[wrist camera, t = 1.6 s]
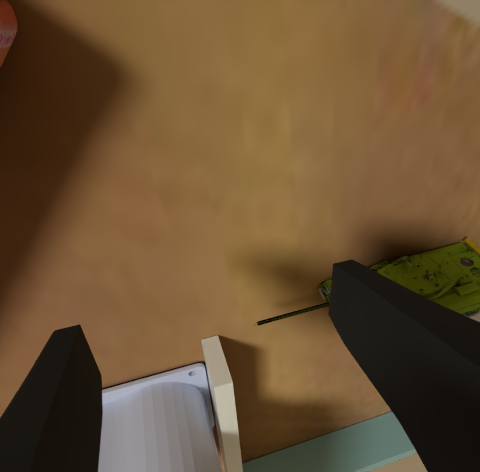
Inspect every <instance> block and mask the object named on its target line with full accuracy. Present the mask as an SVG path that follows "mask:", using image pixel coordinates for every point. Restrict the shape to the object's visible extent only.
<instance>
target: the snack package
mask: <svg viewBox="0 0 480 472" xmlns="http://www.w3.org/2000/svg"><path fill="white" fill-rule="evenodd" d="M17 27H18V24H17V19H16V16H15V13H14V11H13V8H12V6H11V5H10V3H9V2H8V1H7V0H0V68H1V66H2V64H3V61H4V59H5V57H6V55H7V53H8V51H9V49H10V46H11V44H12V42H13V40H14V38H15V35H16V32H17Z"/></svg>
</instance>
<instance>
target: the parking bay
mask: <svg viewBox="0 0 480 472" xmlns="http://www.w3.org/2000/svg"><path fill="white" fill-rule="evenodd" d="M470 318H471V319H474V320H476V321H478V322H480V314H478V315H476V316H473V317H470ZM201 341H202V347H203V353H204V358H205V364H206V370H207V376H208V382H209V388H210V393H211V399H212V405H213V411H214V417H215V422H216V428H217V434H218V440H219V446H220V451H221V457H222V463H223V469H224V472H369V471H371V470H374V469H376V468H379V467H382V466H384V465H387V464H389V463H392V462H395V461H397V460H400V459H402V458H405V457H408V456H410V455H413V454H416V453H417V452H416V450H415V448H414V446H413V445H412V443H411V441H410V440H409V438H408V436H407V434H406V433H405V431H404V429H403V428H402V426H401V424H400V423H399V421H398V419H397V418H396V416H395V415H394V413H393V412H389V413H386V414H383V415H380V416H378V417H375V418H372V419H369V420H366V421H363V422H360V423H357V424H355V425H352V426H349V427H346V428H343V429H340V430H337V431H334V432H332V433H329V434H326V435H323V436H320V437H317V438H314V439H311V440H309V441H306V442H303V443H300V444H297V445H294V446H291V447H289V448H286V449H283V450H280V451H277V452H274V453H271V454H268V455H266V456H263V457H260V458H257V459H254V460H251V461H248V462H245V463H243V464H242V459H241V450H240V441H239V432H238V424H237V415H236V406H235V398H234V389H233V381H232V378H231V375H230V372H229V369H228V366H227V363H226V359H225V356H224V353H223V350H222V347H221V344H220V341H219V337H218V335H217V336H213V337H210V338H206V339H202V340H201Z"/></svg>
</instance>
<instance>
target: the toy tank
mask: <svg viewBox="0 0 480 472" xmlns="http://www.w3.org/2000/svg"><path fill="white" fill-rule="evenodd" d="M429 214H430V213H429ZM464 242H466V243H467V244H468V245H466V246H465V245H464V244H463V243H462V242H460V243H457V244H453V245H449V246H446V247H442V248H439V249H435V250H431V251H428V252H424V253H420V254H417V255H407V256H401V257H399V258H397V259H396V258H395V259H396V260H395V261H384V260H381V261H380V262H379V263H377V264H375V265H373V266H372V267H370V269H372V270H374V271H375V272H377V273H379V274H381V275H383V276H385V277H387V278H389V279H391V280H393V281H394V282H396V283H398V284H400V285H402V286H404V287H406V288H408V289H410V290H412V291H414V292H416V293H418V294H420V295H422V296H424V297H426V298H428V299H430V300H432V301H434V302H436V303H438V304H440V305H442V306H444V307H447V308H449V309H451V310H453V311H455V312H458V313H460V314H462V315H464V316H466V317H469V318H470V317H473V316H476V315H478V314H480V257H479V256H478V255H477V254H476V252H477V253H478V254H479V255H480V247H479V246H478V245H476V244H475V243H474V242H473V241H472V240H471V239H470V238H469V237H468V238H466V239H465V240H464ZM331 283H332V280H331V279H330V280H327V281H325V282H323V283H322V284H320V285H318V287H319V293H320V294H321V296H322V298H323V300H326V301H325V302H327V303H324V304H320V305H316V306H313V307H309V308H305V309H302V310H298V311H295V312H291V313H287V314H284V315H280V316H276V317H273V318H269V319H265V320H262V321H258V322H257V323H258V324H257V325H261V324H265V323H269V322H272V321H276V320H279V319H283V318H287V317H290V316H294V315H297V314H301V313H305V312H308V311H312V310H315V309H319V308H322V307H326V306H329V303H330V293H331ZM322 288H323V289H324V290H323V289H322ZM326 304H327V305H326ZM323 305H324V306H323ZM325 305H326V306H325ZM319 306H320V307H319ZM312 308H313V309H312ZM308 309H309V310H308ZM305 310H306V311H305ZM307 310H308V311H307ZM301 311H302V312H301ZM293 313H295V314H293ZM290 314H291V315H290ZM283 316H284V317H283ZM275 318H276V319H275ZM270 319H271V320H270ZM272 319H273V320H272ZM268 320H269V321H268ZM263 321H264V322H263ZM261 322H262V323H261ZM255 324H256V323H255ZM255 324H254V325H255Z"/></svg>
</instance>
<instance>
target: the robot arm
mask: <svg viewBox="0 0 480 472" xmlns="http://www.w3.org/2000/svg"><path fill="white" fill-rule="evenodd" d="M329 316H330V318H331V320H332V322H333V324H334V326H335V328H336V330H337V332H338V333H339V335H340V337H341V339H342V341H343V342H344V344H345V346H346V347H347V348H348V350H349V351H350V353H351V354H352V356H353V357H354V358H355V360H356V361H357V363H358V364H359V366H360V367H361V368H362V370H363V371H364V373H365V374H366V375H367V377H368V378H369V379H370V381H371V382H372V384H373V385H374V386H375V388H376V389H377V391H378V392H379V393H380V395H381V396H382V398H383V399H384V400H385V402H386V403H387V405H388V406H389V407H390V409H391V410H392V412H393V413H394V415H395V416H396V418H397V419H398V421H399V423H400V424H401V426H402V428H403V429H404V431H405V433H406V434H407V436H408V438H409V440H410V441H411V443H412V445H413V446H414V448H415V450H416V452H417V453H418V455H419V457H420V458H421V460H422V462H423V464H424V466H425V467H426V469H427V471H428V472H480V322H478V321H476V320H474V319H471V318H469V317H466V316H464V315H462V314H460V313H458V312H455V311H453V310H451V309H449V308H447V307H444V306H442V305H440V304H438V303H436V302H434V301H432V300H430V299H428V298H426V297H424V296H422V295H420V294H418V293H416V292H414V291H412V290H410V289H408V288H406V287H404V286H402V285H400V284H398V283H396V282H394V281H393V280H391V279H389V278H387V277H385V276H383V275H381V274H379V273H377V272H375V271H374V270H372V269H370V268H368V267H366V266H364V265H362V264H360V263H358V262H356V261H354V260H348V261H344V262H340V263H335V264H333V273H332V283H331V293H330V303H329ZM191 371H192V372H191ZM214 425H215V421H214V415H213V410H212V404H211V398H210V393H209V387H208V381H207V375H206V370H205V366H204V364H202V363H197V364H193V365H189V366H186V367H182V368H179V369H175V370H171V371H168V372H164V373H161V374H157V375H154V376H150V377H146V378H143V379H139V380H136V381H132V382H129V383H125V384H121V385H118V386H114V387H111V388H107V389H103V390H102V379H101V374H100V371H99V369H98V366H97V364H96V362H95V359H94V357H93V354H92V352H91V350H90V347H89V345H88V343H87V340H86V338H85V335H84V333H83V331H82V328H81V326H80V325H76V326H72V327H68V328H63V329H59V330H55V331H54V332H53V334H52V335H51V337H50V338H49V340H48V342H47V343H46V345H45V347H44V348H43V350H42V352H41V353H40V355H39V357H38V359H37V360H36V362H35V364H34V365H33V367H32V369H31V370H30V372H29V374H28V375H27V377H26V379H25V380H24V382H23V383H22V385H21V387H20V388H19V390H18V391H17V393H16V394H15V396H14V398H13V399H12V401H11V402H10V404H9V405H8V407H7V409H6V410H5V412H4V413H3V415H2V416H1V418H0V472H222V469H221V464H220V460H219V456H218V452H217V447H216V443H215V439H214V434H213V430H212V428H213V427H214Z"/></svg>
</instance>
